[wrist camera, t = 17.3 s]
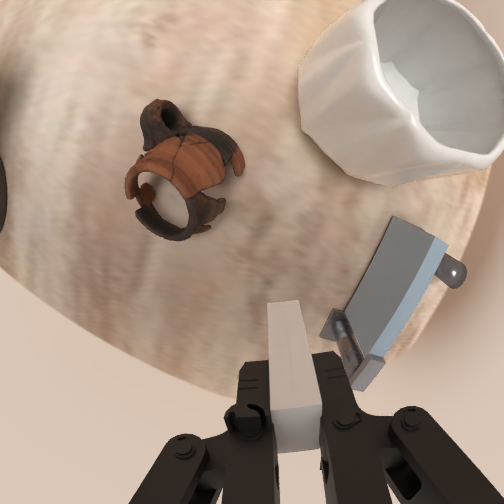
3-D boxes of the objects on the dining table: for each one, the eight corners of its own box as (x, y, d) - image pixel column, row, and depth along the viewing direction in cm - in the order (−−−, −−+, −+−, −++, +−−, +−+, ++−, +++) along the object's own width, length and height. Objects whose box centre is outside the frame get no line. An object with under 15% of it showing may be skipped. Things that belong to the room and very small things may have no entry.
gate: (343, 337, 29) (363, 391, 21) (331, 333, 29) (348, 388, 21) (405, 222, 25) (454, 248, 16) (393, 215, 25) (440, 239, 16)
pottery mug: (267, 190, 26) (228, 244, 20) (194, 208, 31) (150, 254, 25) (213, 73, 20) (148, 91, 14) (144, 114, 25) (84, 145, 20)
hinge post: (319, 335, 30) (331, 384, 22) (332, 308, 29) (350, 354, 21) (347, 342, 30) (365, 389, 22) (361, 316, 29) (384, 361, 21)
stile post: (383, 250, 26) (431, 292, 17) (396, 217, 25) (451, 245, 16) (410, 260, 26) (460, 302, 17) (422, 229, 25) (480, 260, 16)
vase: (419, 58, 20) (508, 8, 5) (427, 186, 24) (537, 215, 10) (287, 40, 21) (301, -63, 6) (294, 180, 25) (326, 200, 11)
